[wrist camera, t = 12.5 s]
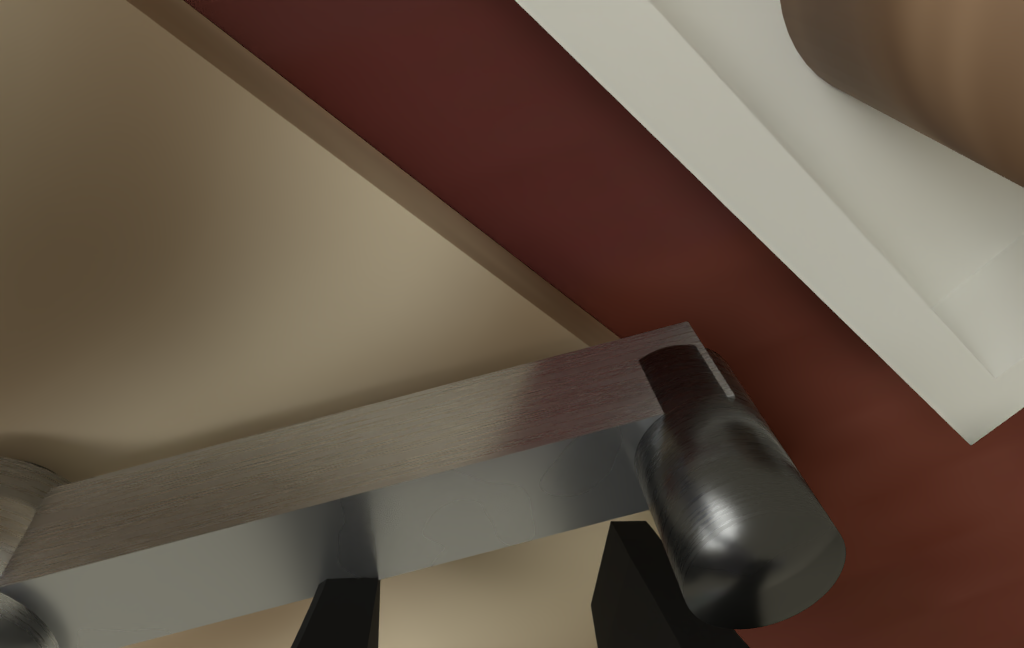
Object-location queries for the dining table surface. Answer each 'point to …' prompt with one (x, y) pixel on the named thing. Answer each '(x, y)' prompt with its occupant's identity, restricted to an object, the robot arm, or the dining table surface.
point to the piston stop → (926, 67)
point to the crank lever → (426, 500)
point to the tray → (828, 188)
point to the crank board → (248, 293)
